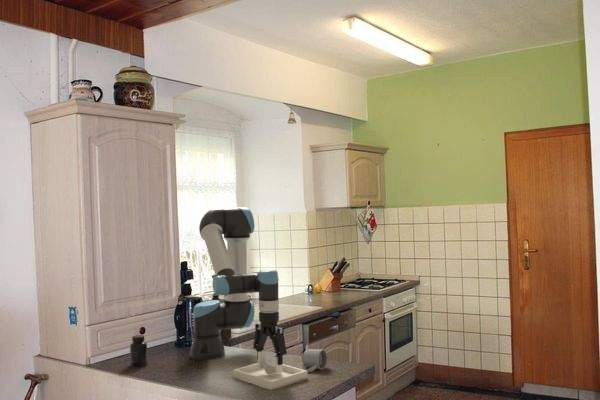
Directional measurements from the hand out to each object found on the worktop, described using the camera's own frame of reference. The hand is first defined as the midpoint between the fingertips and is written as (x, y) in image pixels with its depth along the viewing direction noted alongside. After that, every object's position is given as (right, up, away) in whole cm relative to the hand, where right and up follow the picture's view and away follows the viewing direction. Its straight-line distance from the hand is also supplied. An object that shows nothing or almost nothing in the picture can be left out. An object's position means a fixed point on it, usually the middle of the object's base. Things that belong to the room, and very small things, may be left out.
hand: (269, 370), depth 212 cm
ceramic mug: (+17, -3, +11) cm, 20 cm away
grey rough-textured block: (+1, 0, +1) cm, 1 cm away
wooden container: (-30, -4, +68) cm, 75 cm away
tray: (0, -3, 0) cm, 3 cm away
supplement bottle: (-56, -4, +21) cm, 60 cm away
